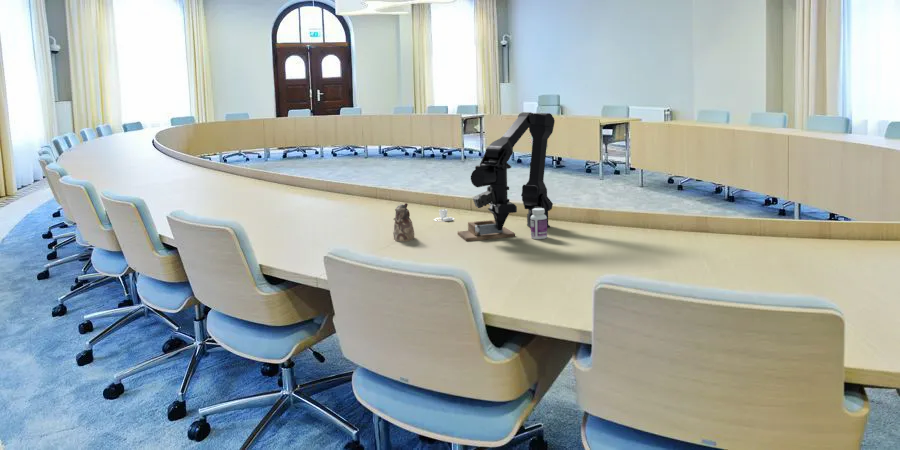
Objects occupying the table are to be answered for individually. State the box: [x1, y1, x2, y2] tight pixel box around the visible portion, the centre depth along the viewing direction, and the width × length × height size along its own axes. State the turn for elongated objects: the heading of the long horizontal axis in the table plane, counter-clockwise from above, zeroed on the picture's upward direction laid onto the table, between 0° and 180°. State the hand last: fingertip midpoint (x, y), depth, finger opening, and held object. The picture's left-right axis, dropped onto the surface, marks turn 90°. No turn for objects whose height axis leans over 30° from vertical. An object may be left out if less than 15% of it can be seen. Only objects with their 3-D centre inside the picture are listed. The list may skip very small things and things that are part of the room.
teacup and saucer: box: [433, 208, 455, 223], centre depth 262 cm, size 9×8×4 cm
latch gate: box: [475, 224, 503, 235], centre depth 229 cm, size 9×2×3 cm, turn 104°
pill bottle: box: [530, 208, 548, 240], centre depth 226 cm, size 5×5×10 cm
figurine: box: [392, 202, 415, 242], centre depth 232 cm, size 7×7×12 cm
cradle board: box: [457, 219, 516, 242], centre depth 233 cm, size 17×11×4 cm, turn 104°
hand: (499, 230), depth 228 cm, fingers closed
